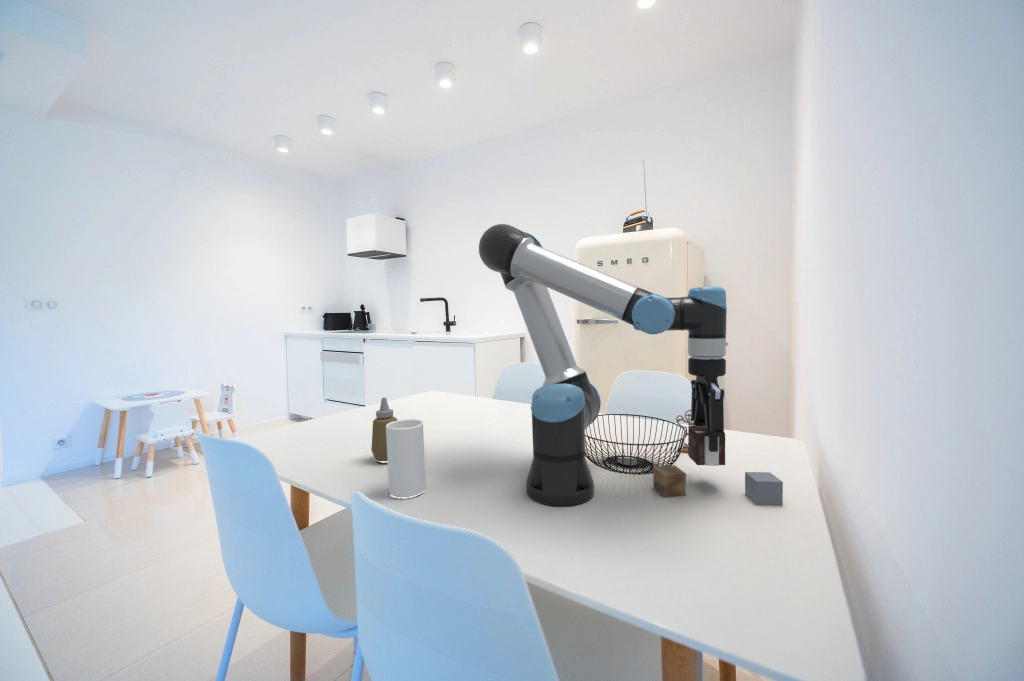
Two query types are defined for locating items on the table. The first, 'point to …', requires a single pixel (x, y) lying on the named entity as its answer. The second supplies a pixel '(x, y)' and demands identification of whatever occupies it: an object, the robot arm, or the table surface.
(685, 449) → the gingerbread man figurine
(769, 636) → the table surface
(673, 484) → the walnut block
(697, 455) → the box
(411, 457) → the cup
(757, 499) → the grey block
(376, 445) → the squeeze bottle
